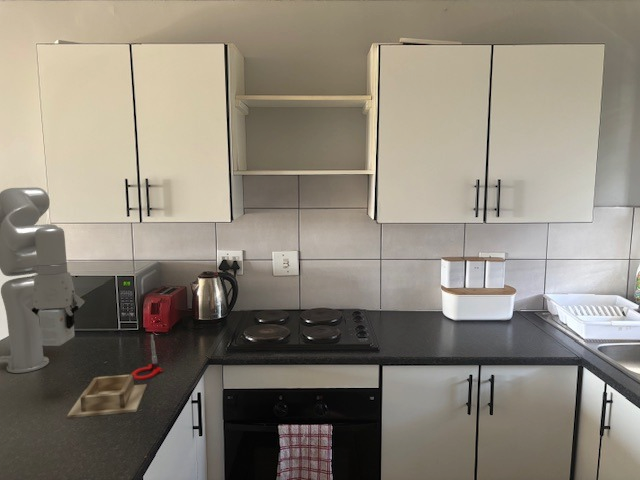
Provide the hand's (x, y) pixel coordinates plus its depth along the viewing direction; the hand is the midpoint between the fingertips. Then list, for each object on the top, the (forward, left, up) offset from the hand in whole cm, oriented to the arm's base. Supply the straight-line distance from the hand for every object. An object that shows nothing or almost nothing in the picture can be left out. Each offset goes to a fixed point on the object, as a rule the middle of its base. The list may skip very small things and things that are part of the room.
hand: (57, 327), depth 138 cm
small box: (0, 0, -4) cm, 4 cm away
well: (+15, -7, -21) cm, 27 cm away
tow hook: (+22, +11, -22) cm, 33 cm away
